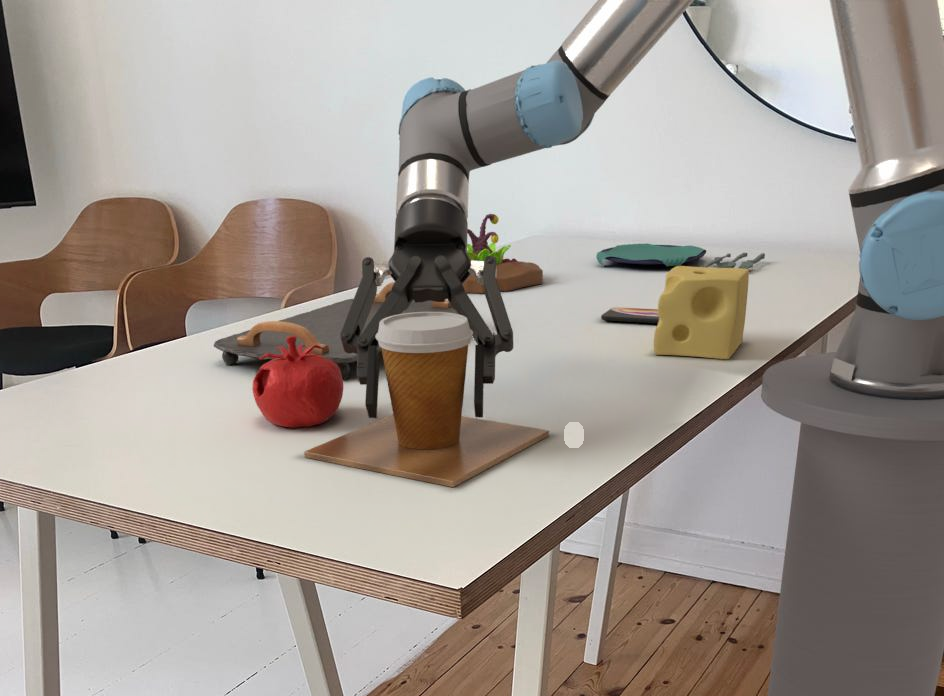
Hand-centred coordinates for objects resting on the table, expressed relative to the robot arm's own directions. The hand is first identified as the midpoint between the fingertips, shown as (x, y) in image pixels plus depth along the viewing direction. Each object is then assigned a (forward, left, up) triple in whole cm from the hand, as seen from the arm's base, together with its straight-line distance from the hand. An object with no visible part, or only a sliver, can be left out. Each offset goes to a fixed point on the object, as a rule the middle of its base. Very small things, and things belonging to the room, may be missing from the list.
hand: (424, 411), depth 107 cm
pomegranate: (+20, -4, -5) cm, 20 cm away
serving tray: (+37, -35, -5) cm, 51 cm away
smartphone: (+7, -69, -5) cm, 69 cm away
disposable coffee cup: (+2, -3, -4) cm, 5 cm away
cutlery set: (+24, -116, -5) cm, 118 cm away
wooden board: (+2, -3, -5) cm, 6 cm away
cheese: (-6, -55, -5) cm, 55 cm away
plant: (+47, -85, -5) cm, 97 cm away
